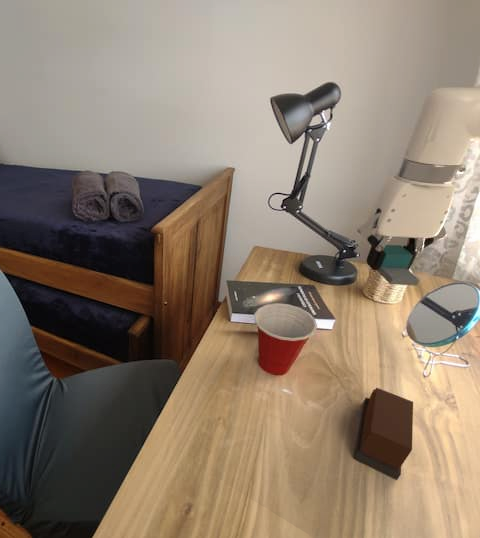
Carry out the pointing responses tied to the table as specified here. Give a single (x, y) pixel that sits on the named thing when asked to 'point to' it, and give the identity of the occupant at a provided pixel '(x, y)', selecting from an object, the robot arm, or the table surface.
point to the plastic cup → (281, 335)
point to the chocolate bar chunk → (385, 432)
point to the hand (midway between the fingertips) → (386, 266)
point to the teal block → (397, 266)
